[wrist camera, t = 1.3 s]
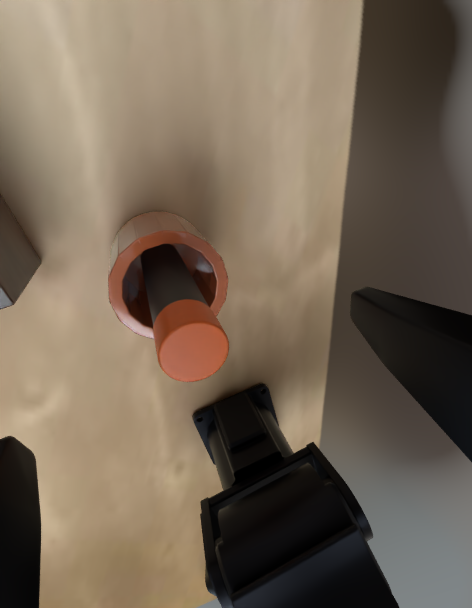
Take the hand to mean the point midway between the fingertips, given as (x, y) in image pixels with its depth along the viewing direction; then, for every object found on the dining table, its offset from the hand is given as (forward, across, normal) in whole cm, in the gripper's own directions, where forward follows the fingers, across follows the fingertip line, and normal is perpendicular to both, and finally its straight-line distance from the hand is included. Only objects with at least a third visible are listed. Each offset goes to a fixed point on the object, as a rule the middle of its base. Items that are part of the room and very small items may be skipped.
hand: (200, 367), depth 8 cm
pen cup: (+12, 0, +3) cm, 13 cm away
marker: (+12, 0, +3) cm, 12 cm away
